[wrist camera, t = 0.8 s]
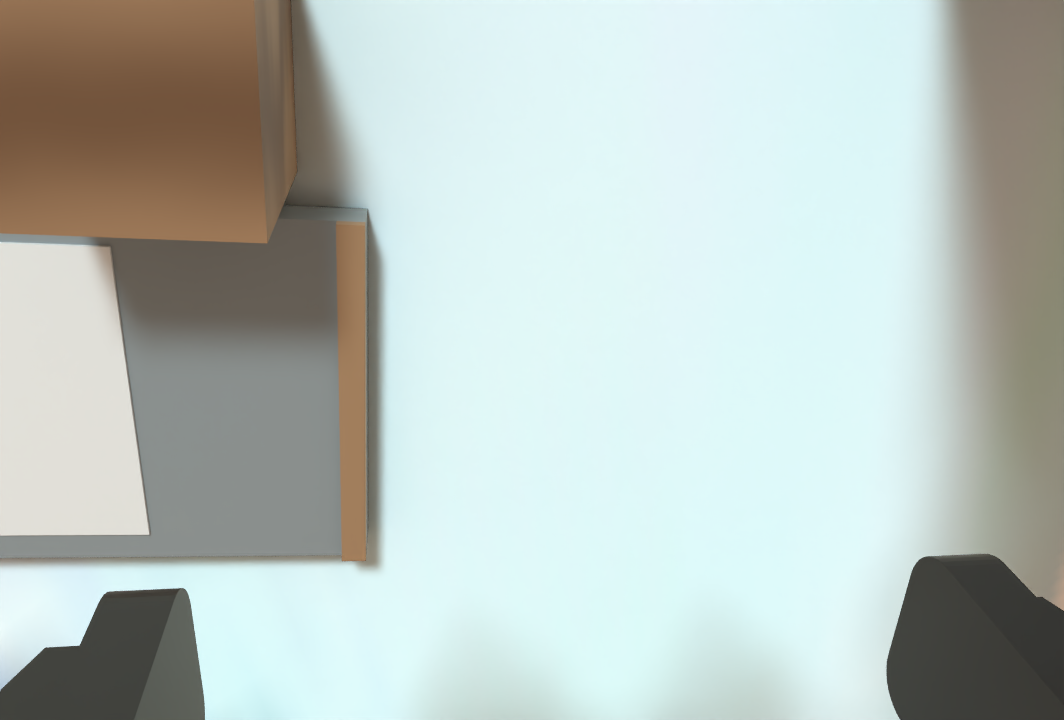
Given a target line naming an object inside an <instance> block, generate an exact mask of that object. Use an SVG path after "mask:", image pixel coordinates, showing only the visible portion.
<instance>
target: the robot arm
mask: <svg viewBox="0 0 1064 720" xmlns="http://www.w3.org/2000/svg"><path fill="white" fill-rule="evenodd" d="M887 684H888V689H889V693H890V697H891V700H892V703H893V706H894V708H895V711H896V713H897V715H898V716H899V718H900V720H1064V611H1063V610H1061V609H1060V608H1058V607H1057V606H1055V605H1054V604H1052V603H1051V602H1049V601H1047V600H1046V599H1044V598H1043V597H1036V596H1035V595H1034V594H1033V593H1032V592H1031V591H1030V590H1029V589H1028V588H1027V587H1026V586H1025V585H1024V584H1023V583H1022V582H1021V581H1020V580H1019V579H1018V578H1017V576H1016V575H1015V574H1014V573H1013V572H1012V571H1011V570H1010V569H1009V568H1008V567H1007V566H1006V565H1005V564H1004V563H1003V562H1002V561H1001V560H1000V559H998V558H997V557H995V556H993V555H990V554H971V555H950V556H928V557H923V558H922V559H920V560H919V561H918V562H917V563H916V564H915V566H914V568H913V570H912V573H911V576H910V580H909V583H908V587H907V591H906V594H905V598H904V601H903V605H902V608H901V612H900V616H899V619H898V623H897V626H896V630H895V633H894V637H893V640H892V644H891V648H890V651H889V655H888V659H887ZM0 720H205V706H204V695H203V688H202V681H201V674H200V667H199V660H198V653H197V646H196V638H195V631H194V624H193V617H192V610H191V604H190V599H189V596H188V593H187V591H186V590H185V589H183V588H179V589H157V590H135V591H113V592H107V593H106V594H104V595H103V597H102V598H101V600H100V602H99V604H98V606H97V608H96V610H95V612H94V615H93V617H92V619H91V621H90V624H89V626H88V628H87V630H86V633H85V635H84V637H83V639H82V642H81V644H80V646H68V647H49V648H44V649H43V650H42V651H41V652H40V653H39V654H38V655H37V656H36V657H35V658H34V659H33V660H32V661H31V662H30V663H29V664H28V665H26V666H25V667H24V668H23V669H22V670H21V671H20V672H19V673H18V674H17V675H16V676H15V677H14V678H13V679H12V680H11V681H10V682H8V683H7V684H6V685H5V686H4V687H3V688H2V689H1V691H0Z"/></svg>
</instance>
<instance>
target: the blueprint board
mask: <svg viewBox="0 0 1064 720" xmlns="http://www.w3.org/2000/svg"><path fill="white" fill-rule="evenodd" d="M367 537H368V232H367V209H359V208H336V207H313V206H290V205H283V207H282V209H281V212H280V214H279V217H278V219H277V221H276V224H275V226H274V229H273V231H272V233H271V236H270V238H269V241H268V243H242V242H216V241H189V240H162V239H136V238H109V237H82V236H56V235H29V234H2V233H0V558H69V557H187V556H305V555H342V561H366V550H367Z"/></svg>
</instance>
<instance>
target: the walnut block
mask: <svg viewBox="0 0 1064 720" xmlns="http://www.w3.org/2000/svg"><path fill="white" fill-rule="evenodd" d="M296 173H297V154H296V127H295V100H294V73H293V46H292V19H291V0H0V233H2V234H29V235H56V236H82V237H109V238H136V239H162V240H189V241H216V242H242V243H268V241H269V238H270V236H271V233H272V231H273V229H274V226H275V224H276V221H277V219H278V217H279V214H280V212H281V209H282V207H283V205H284V202H285V200H286V197H287V195H288V193H289V190H290V188H291V185H292V183H293V181H294V178H295V176H296Z"/></svg>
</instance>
